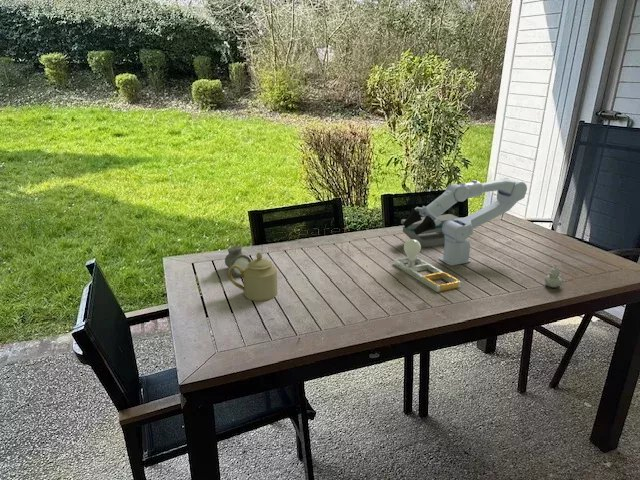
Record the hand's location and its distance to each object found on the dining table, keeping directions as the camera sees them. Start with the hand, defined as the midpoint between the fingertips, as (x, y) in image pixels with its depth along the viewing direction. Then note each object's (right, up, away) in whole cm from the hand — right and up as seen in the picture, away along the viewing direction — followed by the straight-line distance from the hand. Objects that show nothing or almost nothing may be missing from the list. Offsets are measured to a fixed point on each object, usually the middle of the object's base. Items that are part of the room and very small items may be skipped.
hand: (409, 229), depth 165 cm
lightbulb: (+2, -14, +6) cm, 16 cm away
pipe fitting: (-64, -16, +4) cm, 66 cm away
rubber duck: (+47, -20, -12) cm, 52 cm away
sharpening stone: (+15, -5, +32) cm, 36 cm away
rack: (+5, -17, -2) cm, 18 cm away
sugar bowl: (-55, -23, -16) cm, 61 cm away
